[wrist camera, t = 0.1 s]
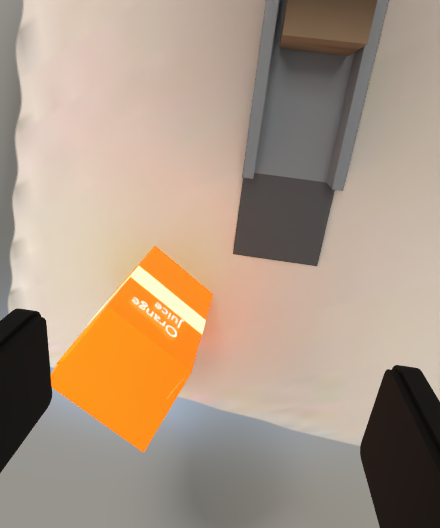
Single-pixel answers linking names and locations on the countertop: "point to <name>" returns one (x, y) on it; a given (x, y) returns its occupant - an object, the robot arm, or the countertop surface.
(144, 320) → the orange juice
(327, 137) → the chute
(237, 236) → the mat
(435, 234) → the countertop surface
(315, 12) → the block
